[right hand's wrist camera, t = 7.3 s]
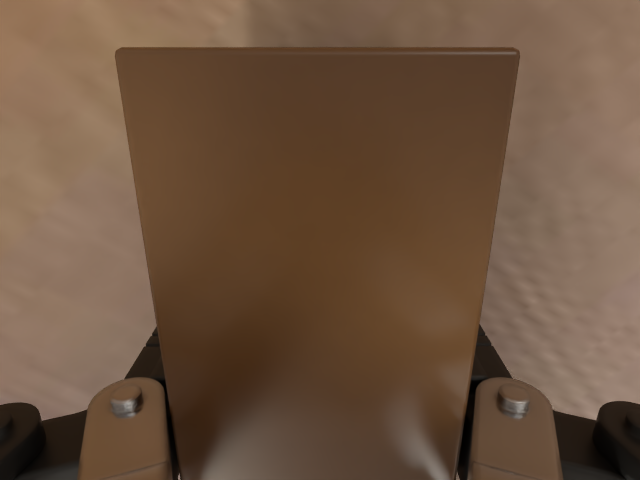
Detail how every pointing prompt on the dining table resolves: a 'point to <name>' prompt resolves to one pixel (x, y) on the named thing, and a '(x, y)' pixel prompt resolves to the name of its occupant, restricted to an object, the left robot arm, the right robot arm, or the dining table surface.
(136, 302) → the dining table surface
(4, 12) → the dining table surface
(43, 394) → the dining table surface
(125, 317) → the dining table surface
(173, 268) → the beam
